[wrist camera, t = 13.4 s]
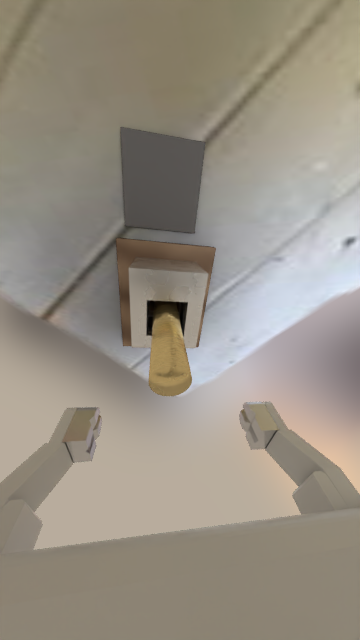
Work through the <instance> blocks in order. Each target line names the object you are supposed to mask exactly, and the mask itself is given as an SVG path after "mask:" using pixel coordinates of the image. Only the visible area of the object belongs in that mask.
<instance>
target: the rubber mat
mask: <svg viewBox="0 0 360 640" xmlns="http://www.w3.org/2000/svg"><path fill="white" fill-rule="evenodd" d="M121 146H122V169H123V192H124V215H125V226H132V227H141V228H150V229H160V230H169V231H178V232H188V233H195V224H196V216H197V208H198V199H199V191H200V183H201V175H202V166H203V158H204V150H205V142H201V141H195V140H190V139H184V138H179V137H173V136H168V135H162V134H157V133H152V132H146V131H141V130H135V129H130V128H124V127H121Z"/></svg>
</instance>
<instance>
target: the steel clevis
mask: <svg viewBox="0 0 360 640" xmlns="http://www.w3.org/2000/svg"><path fill="white" fill-rule="evenodd" d="M207 279H208V273H207V272H206V271H205V270H204V269H203V268H202V267H201V266H200V265H199V264H198V263H196V262H191V261H179V260H167V259H155V258H143V257H136V259H135V260H134V261H133V263H132V264H131V265H130V267H129V291H130V316H131V342H132V347H144V348H151V342H152V328H153V314H154V311H149V300H153V301H173V302H179V309H178V315H179V319H180V324H181V329H182V334H183V338H184V343H185V348H196V344H197V338H198V332H199V326H200V320H201V315H202V309H203V303H204V297H205V291H206V285H207Z"/></svg>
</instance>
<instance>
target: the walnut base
mask: <svg viewBox="0 0 360 640" xmlns="http://www.w3.org/2000/svg"><path fill="white" fill-rule="evenodd" d="M116 247H117V262H118V277H119V292H120V307H121V322H122V337H123V346H132V342H131V316H130V291H129V267H130V265H131V264H132V263H133V261H134V260H135V259H136V257H143V258H155V259H167V260H179V261H191V262H196V263H198V264H199V265H200V266H201V267H202V268H203V269H204V270H205V271H206V272H207V273H208V279H207V285H206V291H205V297H204V303H203V309H202V315H201V320H200V326H199V332H198V338H197V344H196V347H198V346H199V340H200V335H201V329H202V324H203V318H204V312H205V307H206V301H207V295H208V290H209V284H210V279H211V273H212V267H213V262H214V256H215V251H216V248H214V247H208V246H198V245H187V244H177V243H167V242H156V241H146V240H136V239H126V238H116ZM176 305H177V310H178V309H179V302H176ZM149 311H154V301H153V300H149Z"/></svg>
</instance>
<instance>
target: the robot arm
mask: <svg viewBox="0 0 360 640" xmlns="http://www.w3.org/2000/svg"><path fill="white" fill-rule="evenodd" d="M243 408H244V409H243V410H242V411H241V412H240V415H239V417H240V424H241V426H242V429H244V430H245V431H246V438H247V441H248V443H249V446H250V448H251V450H252V449H265V450H266V451H267V452H268V453H269V455H270V456H271V457H272V458H273V459H274V460H275V461H276V462H277V463H278V464H279V466H280V467H281V468H282V469H283V470H284V471H285V472H286V473H287V474H288V475H289V476H290V478H291V479H292V480H293V481H294V482H295V483H296V484H297V485H298V486H299V487H298V488H297V489H296V490H295V491H294V492H293V495H292V496H293V498H294V500H295V502H296V504H297V506H298V508H299V511H300V513H301V515H295V516H288V517H280V518H273V519H265V520H257V521H249V522H243V523H234V524H227V525H219V526H212V527H204V528H197V529H189V530H181V531H174V532H166V533H159V534H151V535H143V536H136V537H128V538H121V539H113V540H106V541H98V542H90V543H83V544H76V545H68V546H61V547H53V548H45V549H37V550H33V548H34V546H35V543H36V541H37V538H38V535H39V533H40V530H41V527H42V521H41V520H40V519H39V517H38V516H37V515H36V514H35V513H34V512H35V511H36V509H37V508H38V507H39V506H40V504H41V503H42V502H43V501H44V499H45V498H46V497H47V496H48V494H49V493H50V492H51V491H52V490H53V488H54V487H55V486H56V484H57V483H58V482H59V481H60V480H61V478H62V477H63V476H64V474H65V473H66V472H67V471H68V469H69V468H70V467H71V466H72V465H73V463H75V462H84V461H92V459H93V455H94V452H95V448H96V442H95V440H96V439H97V437H98V436H99V434H100V430H101V424H102V419H101V416H100V415H99V413H100V409H99V407H91V408H67V409H66V410H65V412H64V413H63V415H62V417H61V419H60V421H59V423H58V425H57V427H56V429H55V431H54V433H53V435H52V437H51V439H50V441H49V443H46V444H44V445H43V446H42V447H40V448H39V449H38V450H37V451H36V452H35V453H34V454H32V455H31V456H30V457H29V458H28V459H27V460H26V461H24V462H23V463H22V464H21V465H20V466H19V467H18V468H17V469H16V470H14V471H13V472H12V473H11V474H10V475H9V476H8V477H6V478H5V479H4V480H3V481H2V482H1V483H0V640H360V494H359V493H358V492H357V490H356V489H355V488H354V486H353V485H352V484H351V482H350V481H349V479H348V478H347V477H346V475H345V474H344V473H343V471H342V470H341V469H340V468H339V467H338V466H337V465H335V464H334V463H333V462H331V461H330V460H329V459H328V458H326V457H325V456H324V455H323V454H321V453H320V452H319V451H318V450H316V449H315V448H314V447H312V446H311V445H310V444H309V443H307V442H306V441H305V440H304V439H302V438H301V437H300V436H298V435H297V434H296V433H295V432H293V431H292V430H289V429H288V428H287V426H286V425H285V423H284V422H283V420H282V419H281V417H280V415H279V414H278V412H277V411H276V409H275V407H274V406H273V404H272V403H271V402H246V403H244V405H243Z"/></svg>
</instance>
